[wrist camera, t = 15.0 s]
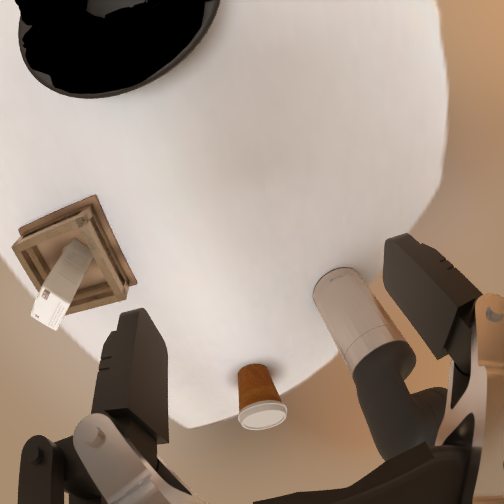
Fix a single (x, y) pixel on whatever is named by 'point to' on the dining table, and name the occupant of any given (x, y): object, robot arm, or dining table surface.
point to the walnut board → (58, 244)
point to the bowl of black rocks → (108, 41)
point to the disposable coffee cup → (258, 399)
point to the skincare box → (62, 284)
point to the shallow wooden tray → (98, 246)
